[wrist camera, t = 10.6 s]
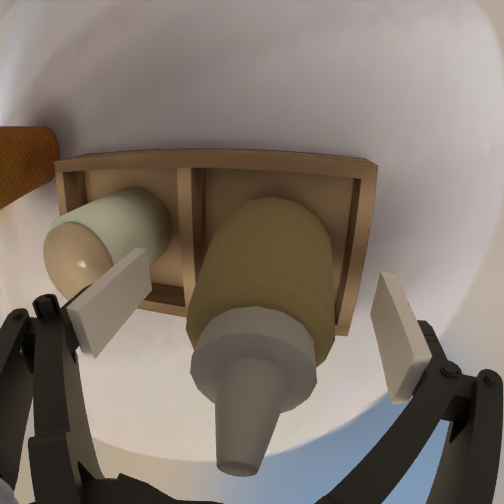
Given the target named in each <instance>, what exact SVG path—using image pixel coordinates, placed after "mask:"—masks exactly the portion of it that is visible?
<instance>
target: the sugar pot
mask: <svg viewBox="0 0 504 504" xmlns="http://www.w3.org/2000/svg"><path fill="white" fill-rule="evenodd" d="M171 238H172V225H171V220H170V216H169V214H168V211H167V209H166V208H165V206H164V205H163V203H162V202H161V201H160V199H159V198H158V197H157V196H155V195H154V194H153V193H151V192H150V191H148V190H146V189H143V188H140V187H126V188H123V189H121V190H118V191H116V192H113V193H111V194H109V195H106V196H104V197H102V198H99V199H97V200H95V201H93V202H90V203H88V204H86V205H84V206H81V207H79V208H77V209H75V210H73V211H71V212H68V213H66V214H64V215H62V216H60V217H58V218H57V219H56V220H55V221H54V222H53V223H52V225H51V226H50V228H49V231H48V234H47V237H46V239H45V242H44V261H45V266H46V269H47V272H48V274H49V276H50V278H51V280H52V282H53V284H54V285H55V287H56V288H57V289H58V291H59V292H60V293H61V294H62V295H63V296H64V297H65V298H66V299H67V300H68V301H69V300H70V299H72V298H74V296H75V295H76V294H78V292H80V291H81V290H82V289H83V288H84V287H86V286H88V285H90V284H93V283H94V282H96V281H97V280H98V279H99V278H100V277H101V276H103V275H104V274H105V273H106V272H107V271H108V270H110V269H111V268H112V267H113V266H114V265H116V264H117V263H118V262H119V261H120V260H122V259H123V258H124V257H125V256H126V255H128V254H129V253H130V252H131V251H133V250H134V249H135V248H141V249H147V256H148V264H149V268H150V267H151V266H152V265H153V264H154V263H155V262H156V261H157V260H158V259H159V258H160V257H161V256H162V255H163V254H164V253H165V252H166V251H167V249H168V247H169V245H170V242H171Z"/></svg>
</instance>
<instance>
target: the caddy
mask: <svg viewBox="0 0 504 504" xmlns="http://www.w3.org/2000/svg"><path fill="white" fill-rule="evenodd" d="M54 165H55V176H56V186H57V195H58V203H59V210H60V216H62V215H64V214H66V213H68V212H71V211H73V210H75V209H77V208H79V207H81V206H84V205H86V204H88V203H90V202H93V201H95V200H97V199H99V198H102V197H104V196H106V195H109V194H111V193H113V192H116V191H118V190H121V189H123V188H126V187H140V188H143V189H146V190H148V191H150V192H151V193H153V194H154V195H155V196H157V197H158V198H159V199H160V201H161V202H162V203H163V205H164V206H165V208H166V209H167V211H168V214H169V216H170V220H171V225H172V238H171V242H170V245H169V247H168V249H167V251H166V252H165V253H164V254H163V255H162V256H161V257H160V258H159V259H158V260H157V261H156V262H155V263H154V264H153V265H152V266H151V267H150V268H149V271H150V279H151V286H152V291H151V292H150V293H149V294H148V295H147V297H146V298H145V299H144V300H143V301H142V302H141V304H140V305H139V306H138V307H137V308H138V309H143V310H148V311H154V312H159V313H164V314H170V315H176V316H182V317H187V313H188V306H189V303H190V300H191V297H192V294H193V291H194V288H195V285H196V282H197V279H198V276H199V273H200V271H201V268H202V265H203V262H204V259H205V256H206V253H207V251H208V248H209V245H210V242H211V239H212V237H213V234H214V232H215V230H216V229H217V227H218V226H219V224H220V223H221V221H222V220H223V218H224V217H225V215H226V214H227V213H229V212H230V211H232V210H233V209H235V208H237V207H238V206H240V205H241V204H243V203H244V202H246V201H249V200H255V199H261V198H268V197H276V198H280V199H284V200H289V201H293V202H297V203H299V204H300V205H302V206H303V207H304V208H306V209H307V210H309V211H310V212H311V213H313V214H314V215H315V216H317V217H318V218H319V220H320V222H321V223H322V225H323V227H324V228H325V230H326V232H327V233H328V235H329V237H330V242H331V252H332V263H333V283H334V309H335V335H338V336H348V332H349V328H350V324H351V320H352V316H353V312H354V308H355V303H356V299H357V295H358V290H359V285H360V280H361V276H362V271H363V265H364V260H365V255H366V249H367V244H368V238H369V232H370V225H371V219H372V212H373V205H374V197H375V189H376V181H377V172H378V165H376V164H374V163H373V162H371V161H369V160H367V159H361V158H353V157H345V156H336V155H326V154H315V153H304V152H291V151H275V150H255V149H214V148H194V149H154V150H134V151H119V152H106V153H95V154H85V155H79V156H75V157H71V158H66V159H62V160H58V161H54Z"/></svg>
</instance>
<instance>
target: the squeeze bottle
mask: <svg viewBox="0 0 504 504" xmlns="http://www.w3.org/2000/svg"><path fill="white" fill-rule="evenodd" d="M186 331H187V333H188V336H189V339H190V341H191V344H192V346H193V349H194V352H193V355H192V360H191V370H190V373H191V375H192V378H193V380H194V382H195V384H196V386H197V388H198V390H199V391H201V392H202V393H203V394H204V395H205V396H206V397H207V398H208V399H209V400H210V401H211V402H212V403H214V404H215V422H216V457H217V467H218V469H219V470H220V471H222V472H224V473H226V474H229V475H233V476H241V477H247V476H252V475H255V474H257V472H258V470H259V467H260V465H261V462H262V460H263V457H264V455H265V452H266V450H267V447H268V445H269V442H270V439H271V437H272V434H273V431H274V429H275V426H276V423H277V421H278V418H279V415H280V413H283V412H286V411H289V410H292V409H294V408H295V407H297V406H298V405H300V404H301V403H302V402H304V401H305V400H307V399H308V398H309V397H310V395H311V393H312V391H313V389H314V387H315V386H316V384H317V377H316V368H317V367H318V366H319V365H320V364H321V363H322V362H324V361H325V360H326V358H327V355H328V353H329V351H330V349H331V347H332V345H333V343H334V341H335V309H334V283H333V263H332V252H331V242H330V237H329V235H328V233H327V232H326V230H325V228H324V227H323V225H322V223H321V222H320V220H319V218H318V217H317V216H315V215H314V214H313V213H311V212H310V211H309V210H307V209H306V208H304V207H303V206H302V205H300V204H299V203H297V202H293V201H289V200H284V199H280V198H276V197H268V198H261V199H255V200H249V201H246V202H244V203H243V204H241V205H240V206H238V207H237V208H235V209H233V210H232V211H230V212H229V213H227V214H226V215H225V217H224V218H223V220H222V221H221V223H220V224H219V226H218V227H217V229H216V230H215V232H214V234H213V237H212V239H211V242H210V245H209V248H208V251H207V253H206V256H205V259H204V262H203V265H202V268H201V271H200V273H199V276H198V279H197V282H196V285H195V288H194V291H193V294H192V297H191V300H190V303H189V306H188V313H187V324H186Z"/></svg>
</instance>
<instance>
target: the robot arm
mask: <svg viewBox="0 0 504 504" xmlns="http://www.w3.org/2000/svg"><path fill="white" fill-rule="evenodd" d="M151 291H152V286H151V279H150V271H149V264H148V256H147V249H141V248H135V249H134V250H133V251H131V252H130V253H129V254H128V255H126V256H125V257H124V258H123V259H122V260H120V261H119V262H118V263H117V264H116V265H114V266H113V267H112V268H111V269H110V270H108V271H107V272H106V273H105V274H104V275H103V276H101V277H100V278H99V279H98V280H97V281H96V282H94V283H93V284H90V285H88V286H86V287H84V288H83V289H82V290H81V291H80V292H78V294H76V295H75V296H74V298H72V299H70V300H69V301H68V302H67V303H66V304H65V305H64V306H63V307H61V308H60V307H59V304H58V300H57V297H56V296H55V295H54V294H45V295H42V296H39V297H38V298H36V299H35V300H34V301H33V303H32V305H33V307H34V310H35V313H36V316H37V318H33V317H30V316H29V314H28V311H27V310H26V309H24V308H20V309H16V310H13V311H12V312H11V313H9V315H8V316H7V318H6V319H5V321H4V323H3V325H2V327H1V328H0V504H19V503H18V501H17V500H16V499H15V497H14V493H13V492H14V489H15V485H16V482H17V478H18V472H19V465H20V458H21V452H22V446H23V440H24V434H25V430H26V424H27V420H28V415H29V411H30V407H31V403H32V399H33V406H34V429H35V436H34V437H30V438H29V439H28V450H29V461H30V470H31V477H32V483H33V490H34V496H35V501H36V502H33V503H30V504H223V503H218V502H213V501H183V500H176V499H173V498H172V497H170V496H168V495H166V494H164V493H163V492H161V491H159V490H158V489H156V488H154V487H153V486H151V485H149V484H148V483H145V482H142V481H140V480H137V479H134V478H132V477H129V476H126V475H124V474H121V473H120V474H119V476H118V477H117V479H114V478H104V476H103V474H102V472H101V470H100V468H99V465H98V461H97V458H96V454H95V450H94V446H93V442H92V438H91V433H90V429H89V424H88V419H87V415H86V409H85V404H84V398H83V392H82V386H81V380H80V372H79V364H78V356H77V353H76V351H75V350H76V349H77V348H78V347H79V346H80V348H81V351H82V354H83V355H85V356H88V357H90V358H93V359H95V358H96V357H97V356H98V355H99V353H100V352H101V351H102V350H103V348H104V347H105V346H106V345H107V343H108V342H109V341H110V340H111V339H112V337H113V336H114V335H115V334H116V332H117V331H118V330H119V329H120V328H121V326H122V325H123V324H124V323H125V322H126V320H127V319H128V318H129V317H130V316H131V314H132V313H133V312H134V311H135V310H136V308H137V307H138V306H139V305H140V304H141V302H142V301H143V300H144V299H145V298H146V297H147V295H148V294H149V293H150V292H151ZM370 316H371V319H372V323H373V327H374V331H375V335H376V339H377V343H378V347H379V351H380V355H381V360H382V364H383V369H384V373H385V378H386V383H387V387H388V392H389V397H390V403H391V404H407V403H408V401H409V399H410V397H411V396H412V395H413V398H412V400H411V401H410V402H409V404H408V405H407V406H406V408H405V409H404V410H403V412H402V413H401V414H400V416H399V417H398V418H397V420H396V421H395V422H394V423H393V425H392V426H391V427H390V428H389V430H388V431H387V432H386V433H385V435H384V436H383V437H382V438H381V439H380V440H379V442H378V443H377V444H376V445H375V446H374V447H373V449H372V450H371V451H370V452H369V453H368V454H367V455H366V456H365V457H364V459H363V460H362V461H361V462H360V463H359V464H358V465H357V466H356V467H355V468H354V469H353V470H352V471H351V472H350V473H349V474H348V475H347V476H346V477H345V478H344V479H343V480H342V481H341V482H340V483H339V484H338V485H337V486H336V487H335V488H334V489H333V490H332V491H330V492H329V493H328V494H327V495H325V496H323V497H322V498H321V499H319V500H318V501H317V502H316V503H315V504H381V503H382V502H383V501H384V500H385V498H386V497H387V496H388V495H389V494H390V493H391V491H392V490H393V489H394V488H395V486H396V485H397V484H398V482H399V481H400V480H401V478H402V477H403V476H404V474H405V473H406V472H407V470H408V469H409V468H410V466H411V465H412V463H413V462H414V460H415V459H416V458H417V456H418V455H419V453H420V452H421V450H422V448H423V447H424V445H425V444H426V442H427V441H428V439H429V437H430V436H431V434H432V432H433V431H434V429H435V428H436V426H437V424H438V422H439V421H440V419H442V420H447V421H450V423H449V427H448V432H447V436H446V440H445V444H444V448H443V452H442V456H441V459H440V463H439V466H438V469H437V473H436V476H435V479H434V482H433V485H432V488H431V491H430V494H429V496H428V499H427V502H426V504H492V501H493V496H494V491H495V486H496V480H497V474H498V467H499V459H500V451H501V440H502V425H503V382H502V379H501V377H500V376H499V375H498V374H497V373H496V372H494V371H492V370H490V369H484V370H481V371H480V372H479V374H478V375H477V377H473V376H468V375H464V374H462V372H461V369H460V368H459V367H458V365H456V364H455V363H453V362H451V361H448V360H447V358H446V356H445V353H444V351H443V349H442V347H441V345H440V342H438V341H439V340H438V338H437V336H436V334H435V332H434V330H433V328H432V327H431V326H430V325H429V324H428V323H427V322H426V321H421V320H416V317H415V315H414V313H413V311H412V309H411V307H410V305H409V302H408V300H407V298H406V296H405V294H404V292H403V290H402V288H401V286H400V284H399V282H398V280H397V278H396V276H395V274H394V273H392V272H381V273H380V277H379V281H378V286H377V290H376V294H375V298H374V302H373V305H372V309H371V313H370ZM20 351H21V353H20Z"/></svg>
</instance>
